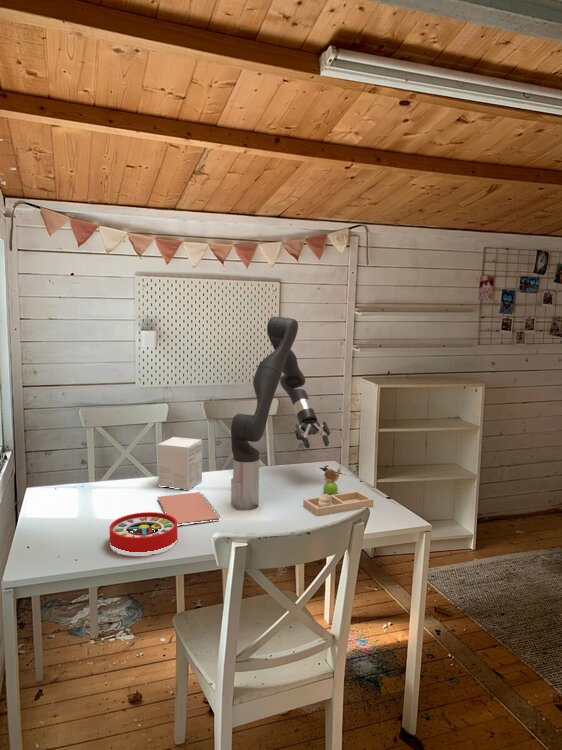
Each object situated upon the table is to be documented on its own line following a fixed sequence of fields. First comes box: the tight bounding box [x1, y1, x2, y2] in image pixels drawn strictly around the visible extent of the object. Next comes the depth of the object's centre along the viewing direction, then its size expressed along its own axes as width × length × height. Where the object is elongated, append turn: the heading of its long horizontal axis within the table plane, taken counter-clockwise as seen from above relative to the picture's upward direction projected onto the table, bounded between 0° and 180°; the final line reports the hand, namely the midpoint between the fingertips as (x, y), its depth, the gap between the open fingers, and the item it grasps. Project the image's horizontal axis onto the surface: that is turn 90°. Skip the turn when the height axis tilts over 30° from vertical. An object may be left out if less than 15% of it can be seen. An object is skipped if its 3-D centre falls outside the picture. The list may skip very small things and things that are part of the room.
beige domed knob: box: [318, 493, 332, 507], centre depth 200 cm, size 5×5×5 cm
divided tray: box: [302, 490, 374, 517], centre depth 203 cm, size 23×10×4 cm, turn 116°
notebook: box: [157, 491, 221, 524], centre depth 199 cm, size 27×17×2 cm, turn 22°
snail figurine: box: [323, 464, 342, 495], centre depth 216 cm, size 5×6×12 cm
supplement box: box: [157, 436, 203, 491], centre depth 226 cm, size 13×13×18 cm
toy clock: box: [108, 511, 178, 552], centre depth 172 cm, size 20×6×20 cm
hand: (317, 446), depth 225 cm, fingers open, 8 cm apart
